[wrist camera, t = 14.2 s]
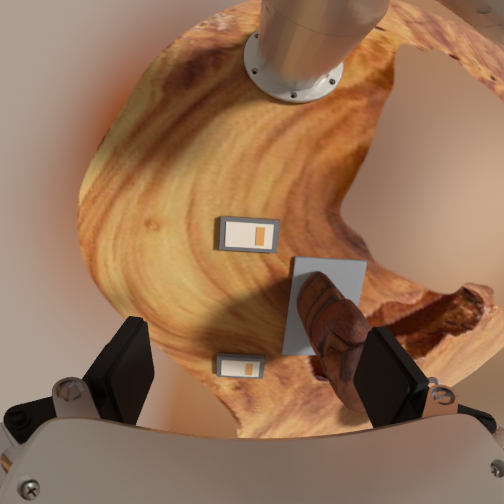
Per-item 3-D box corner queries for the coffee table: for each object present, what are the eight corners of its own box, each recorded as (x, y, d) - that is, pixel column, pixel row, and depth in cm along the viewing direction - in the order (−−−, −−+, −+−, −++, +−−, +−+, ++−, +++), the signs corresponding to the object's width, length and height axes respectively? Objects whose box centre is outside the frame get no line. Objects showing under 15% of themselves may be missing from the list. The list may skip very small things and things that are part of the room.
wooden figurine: (281, 287, 35) (311, 381, 18) (324, 261, 34) (387, 336, 17) (320, 347, 38) (357, 442, 21) (357, 325, 37) (413, 410, 20)
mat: (295, 256, 35) (295, 257, 34) (365, 260, 35) (367, 261, 35) (281, 352, 39) (282, 355, 38) (344, 351, 39) (345, 353, 39)
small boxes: (221, 215, 33) (220, 217, 32) (278, 219, 34) (280, 221, 32) (217, 372, 40) (216, 377, 38) (262, 374, 40) (262, 379, 39)
